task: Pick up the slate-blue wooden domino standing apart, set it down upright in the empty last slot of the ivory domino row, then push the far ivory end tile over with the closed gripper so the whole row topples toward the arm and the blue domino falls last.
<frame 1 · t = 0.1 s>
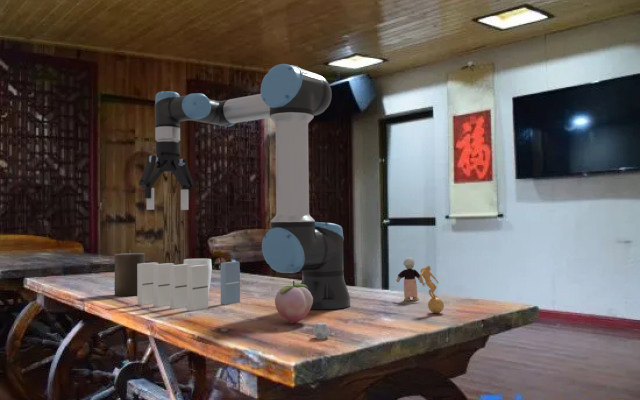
hand: (168, 209, 178), 28 cm above the table, fingers open, 13 cm apart
game die: (321, 339, 117), on the table
blue domino: (230, 303, 169), on the table
decorative fruit: (293, 324, 134), on the table
domino 4: (197, 309, 158), on the table
pillar candle: (129, 295, 192), on the table
grandmother figurine: (409, 300, 170), on the table
domino 2: (163, 305, 166), on the table
domino 3: (180, 307, 162), on the table
cup: (197, 297, 183), on the table
figurine: (432, 313, 146), on the table
domino 1: (148, 303, 170), on the table
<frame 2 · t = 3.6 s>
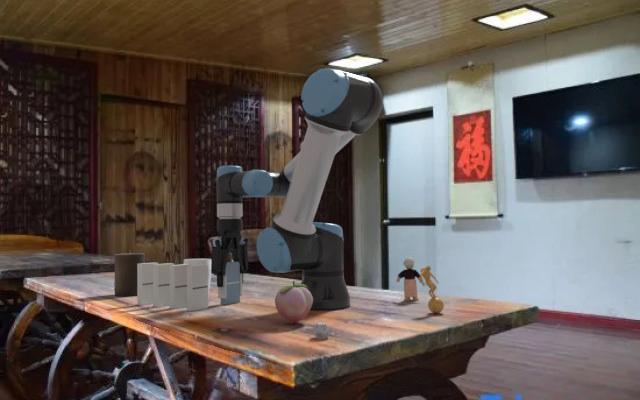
hand: (230, 296, 169), 2 cm above the table, fingers closed on blue domino, 6 cm apart
blue domino: (230, 303, 169), on the table, touching gripper
everything else where it was.
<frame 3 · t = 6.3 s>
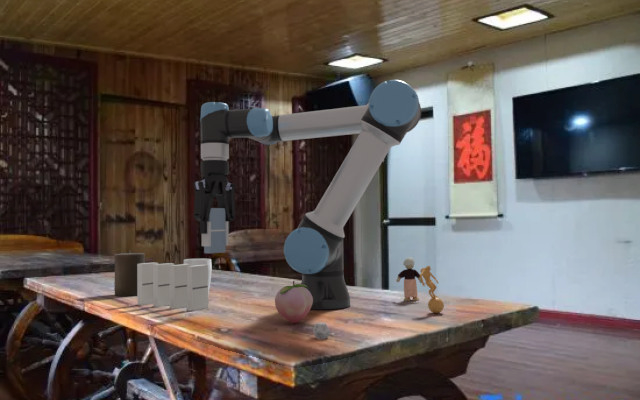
hand: (215, 245, 155), 18 cm above the table, fingers closed on blue domino, 6 cm apart
blue domino: (215, 252, 155), point 16 cm above the table, touching gripper
everything else where it was.
when the fingers open (3 cm above the table, at t = 9.1 s): blue domino stays where it is, on the table.
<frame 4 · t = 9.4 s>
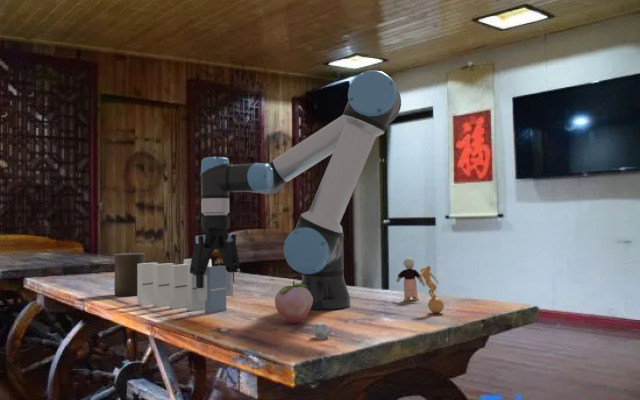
hand: (215, 298, 154), 4 cm above the table, fingers open, 9 cm apart
blue domino: (215, 311, 154), on the table
everything else where it was.
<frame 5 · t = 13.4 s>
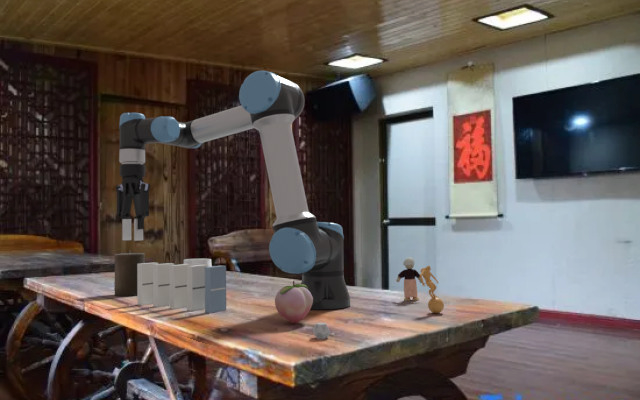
hand: (132, 240, 174), 19 cm above the table, fingers open, 5 cm apart
nothing on the table moved.
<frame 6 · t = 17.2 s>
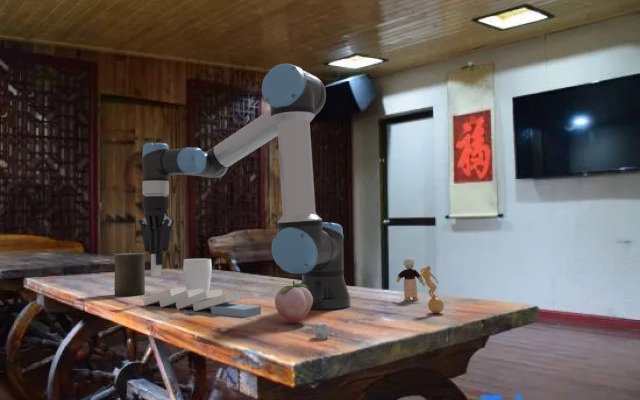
hand: (156, 276, 168), 8 cm above the table, fingers closed
blue domino: (219, 308, 153), point 1 cm above the table, tilted 90°, touching domino 4
domino 4: (201, 306, 157), point 1 cm above the table, tilted 74°, touching blue domino, domino 3
domino 2: (168, 302, 165), point 1 cm above the table, tilted 73°, touching domino 1, domino 3
domino 3: (184, 304, 161), point 1 cm above the table, tilted 72°, touching domino 2, domino 4
domino 1: (151, 301, 169), point 1 cm above the table, tilted 73°, touching domino 2
everything else where it was.
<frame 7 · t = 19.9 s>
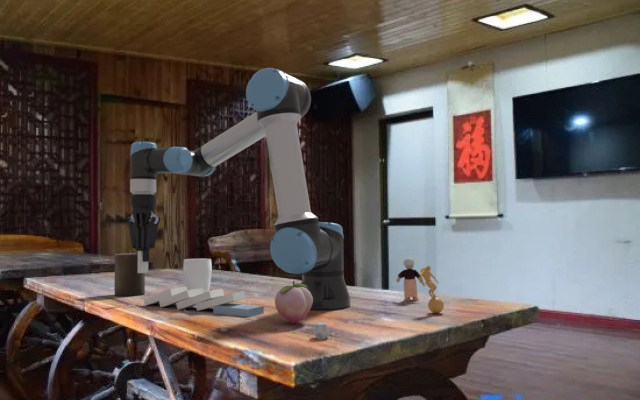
hand: (142, 272, 171), 9 cm above the table, fingers closed
blue domino: (221, 308, 153), point 1 cm above the table, tilted 90°
domino 4: (203, 305, 157), point 1 cm above the table, tilted 74°, touching domino 3
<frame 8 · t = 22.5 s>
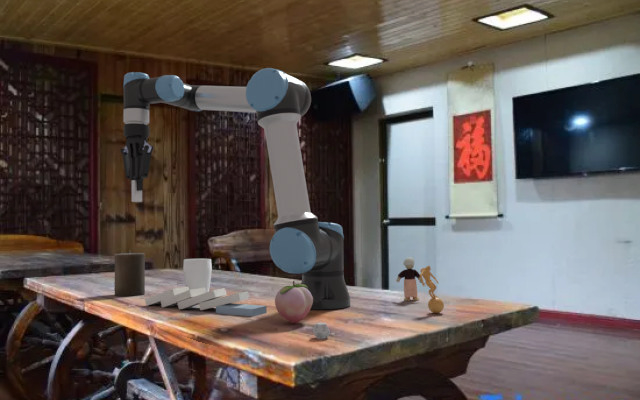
hand: (136, 201, 174), 30 cm above the table, fingers closed
blue domino: (223, 308, 153), point 1 cm above the table, tilted 90°, touching domino 4
domino 4: (205, 305, 157), point 1 cm above the table, tilted 76°, touching blue domino, domino 3
domino 3: (184, 304, 159), point 1 cm above the table, tilted 72°, touching domino 2, domino 4
at the end: blue domino tilted 90°; blue domino inside the target area (0.9 cm from its centre), point 0.8 cm above the table; domino 1 tilted 72° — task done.
